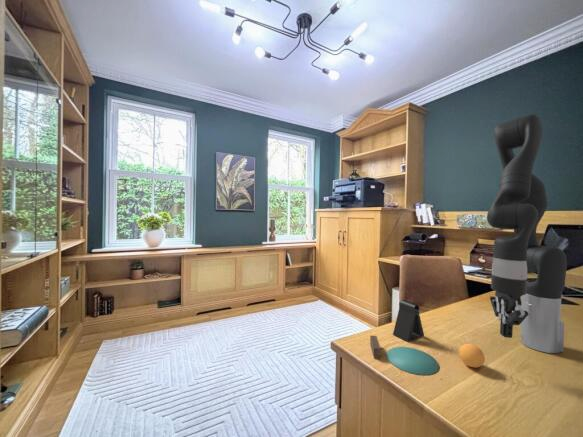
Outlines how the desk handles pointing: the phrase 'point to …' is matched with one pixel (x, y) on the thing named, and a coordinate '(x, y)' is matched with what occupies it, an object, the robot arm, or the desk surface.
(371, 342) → the stop bar
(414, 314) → the phone stand
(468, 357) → the ball
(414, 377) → the desk surface
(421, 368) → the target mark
